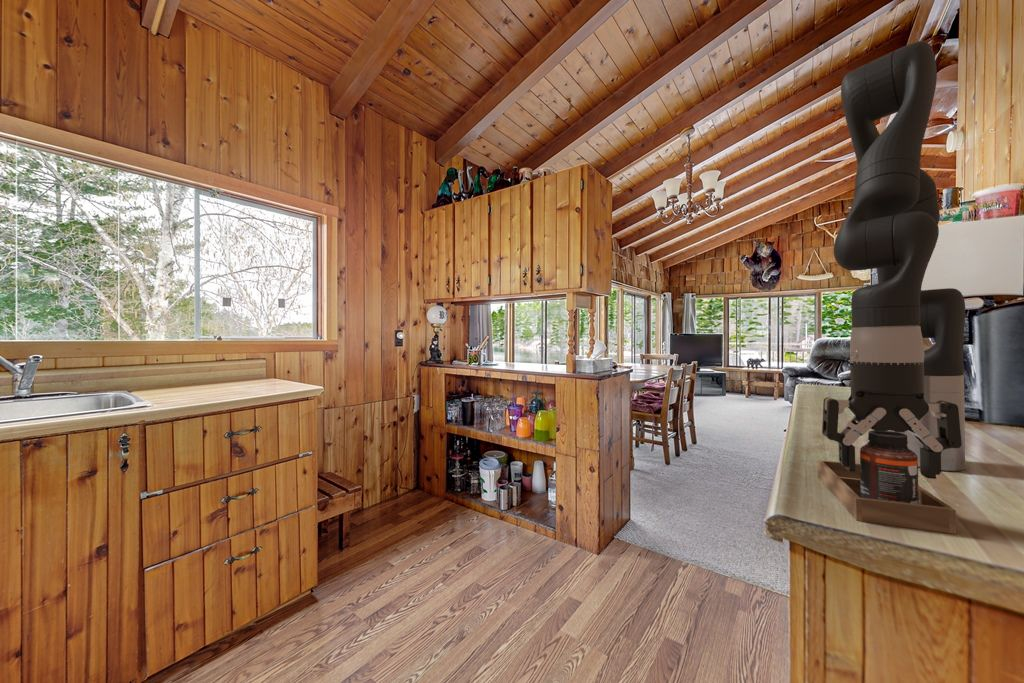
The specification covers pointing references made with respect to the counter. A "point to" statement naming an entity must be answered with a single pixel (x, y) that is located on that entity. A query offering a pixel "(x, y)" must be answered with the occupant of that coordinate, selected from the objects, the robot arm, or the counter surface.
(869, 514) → the caddy
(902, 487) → the supplement bottle
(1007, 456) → the counter surface
